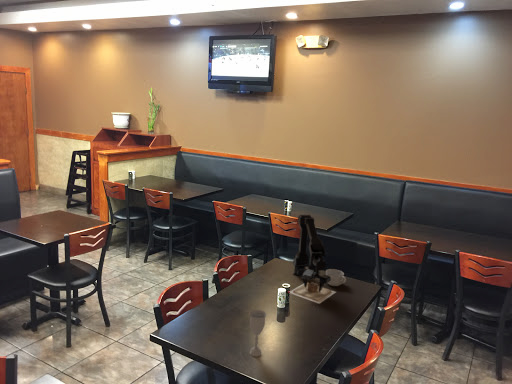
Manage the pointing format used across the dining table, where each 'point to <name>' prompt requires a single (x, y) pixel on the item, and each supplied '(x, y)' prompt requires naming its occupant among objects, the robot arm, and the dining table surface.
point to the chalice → (256, 328)
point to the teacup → (335, 277)
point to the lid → (312, 291)
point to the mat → (312, 299)
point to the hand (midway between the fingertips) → (312, 289)
